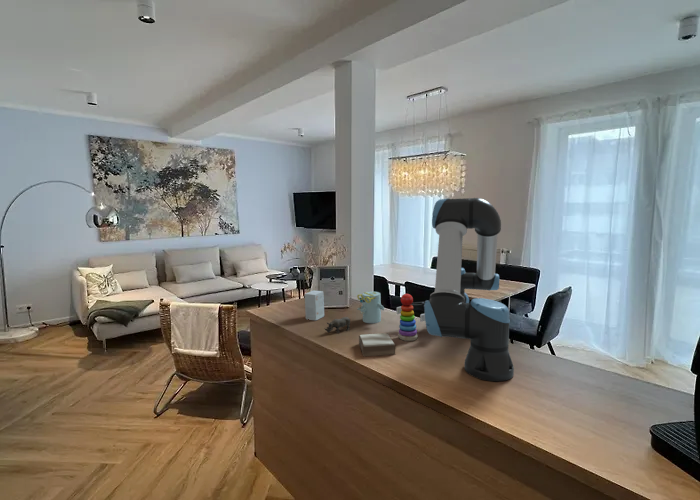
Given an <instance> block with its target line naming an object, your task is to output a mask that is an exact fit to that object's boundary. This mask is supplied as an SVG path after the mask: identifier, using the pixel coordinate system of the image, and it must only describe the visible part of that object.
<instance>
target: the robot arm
mask: <svg viewBox="0 0 700 500" xmlns="http://www.w3.org/2000/svg"><path fill="white" fill-rule="evenodd" d="M431 225H432V227H433V228H432V229H434V230H435V233H436V234H437V235H438V247H437V256H436V257H437V259H436V260H437V261H436V273H435V286H434V292H432V293H430V295H429V299H428V300H427V299H426V300H425V301H416V302H413V303H412V304H411V305H412V306H413V311H422V312H424V313H421V314H420V315H419V320H420V322H421V323H422V322H425V327H426V331H427V333H428V334H429V335H431V336H436V337H441V338H442V337H445V338H454V339H455V338H456V339H464V340H465V339H467V340H470V341H469V342H470V346H469V349H468V351H467V354H466V356H465V359H464V370H465V371H464V372H466V373H467V374H469V375H470V376H472V377H475V378H476V379H480V380H483V381H487V382H503V381H509V380H511V379H512V378H513V377H514V375H515V368H514V367H515V366H514V363H513V361H512V360H513V359H512V357H511V355H510V351H509V346H510V345H509V341H510V339H509V338H510V322H511V320H510V309H509V308H508V306H507V305H506V304H504V303H502V302H501V301H496V300H494V299H490V298H483V297H479V298H477V297H476V298H472V299H471V301H470V298H469V296H468V294H467V292H465V290H478V291H479V290H480V291H489V292H490V291H498V290H499V289H500V274H498V273H496V265H497V251H498V249H497V248H498V235H499V234H500V232H501V231H502V219H501V216H500V215H499V212H498V211H497V208H495V206H493V204H492V203H491V202H489V201H487V200H486V199H485V198H484V199H483V198H480V197H473V198H470V197H469V198H449V197H446V198H443V199H442V198H440V199H438V200H437V201H435V203H434V206H433V211H432V217H431ZM469 229H471V230H472V229H473V230H474V232H475V233H476V238H477V239H476V241H477V242H476V272H466V270H465V268H464V267H462V262H463V261H462V260H463V259H462V257H463V239H464V238H463V237H464V236H465V235H466V234H467V232H468V230H469ZM401 311H402V309H401V306H397V307H396V314H397V315H401V313H400V312H401Z"/></svg>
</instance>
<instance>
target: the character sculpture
mask: <svg viewBox="0 0 700 500" xmlns="http://www.w3.org/2000/svg"><path fill="white" fill-rule="evenodd" d="M356 297H357V300H358V301H359V302H360V303H361V304H362V305H361V304H360V305H359V307H357V309H356V310H358V311H360V314H361V315H362V321H363V322H364V323H366V324H377V323H380V322H381V320H382V311H384V310H385V307H384V305H382V303H381V300H382V299H381V298H382V297H381V292H379V291H364V292H363V293H362V294H357V296H356Z"/></svg>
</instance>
